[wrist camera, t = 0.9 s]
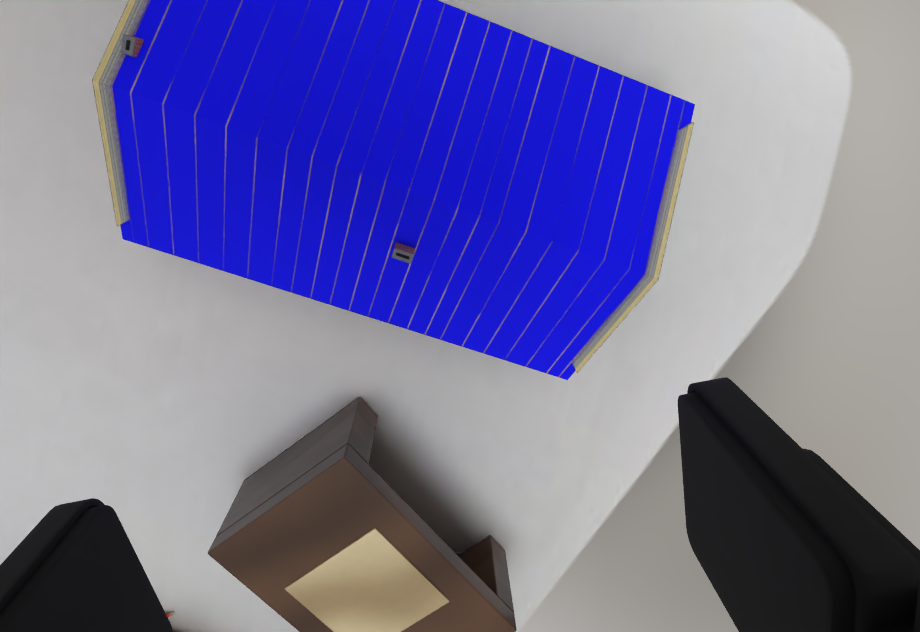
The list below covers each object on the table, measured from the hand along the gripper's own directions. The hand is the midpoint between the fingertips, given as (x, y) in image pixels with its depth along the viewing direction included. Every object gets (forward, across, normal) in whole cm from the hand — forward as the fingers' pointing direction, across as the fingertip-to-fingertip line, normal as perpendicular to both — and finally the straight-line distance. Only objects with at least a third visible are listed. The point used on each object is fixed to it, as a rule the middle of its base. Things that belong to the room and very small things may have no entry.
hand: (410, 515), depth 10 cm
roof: (+22, 0, -3) cm, 22 cm away
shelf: (+22, +6, +17) cm, 28 cm away
